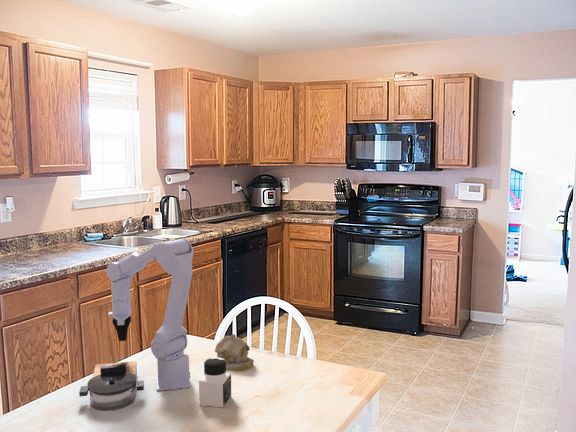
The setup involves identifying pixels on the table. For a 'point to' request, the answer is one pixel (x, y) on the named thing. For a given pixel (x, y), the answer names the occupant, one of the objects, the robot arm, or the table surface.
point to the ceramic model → (234, 353)
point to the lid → (112, 380)
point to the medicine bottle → (215, 383)
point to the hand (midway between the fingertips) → (122, 340)
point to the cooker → (117, 399)
